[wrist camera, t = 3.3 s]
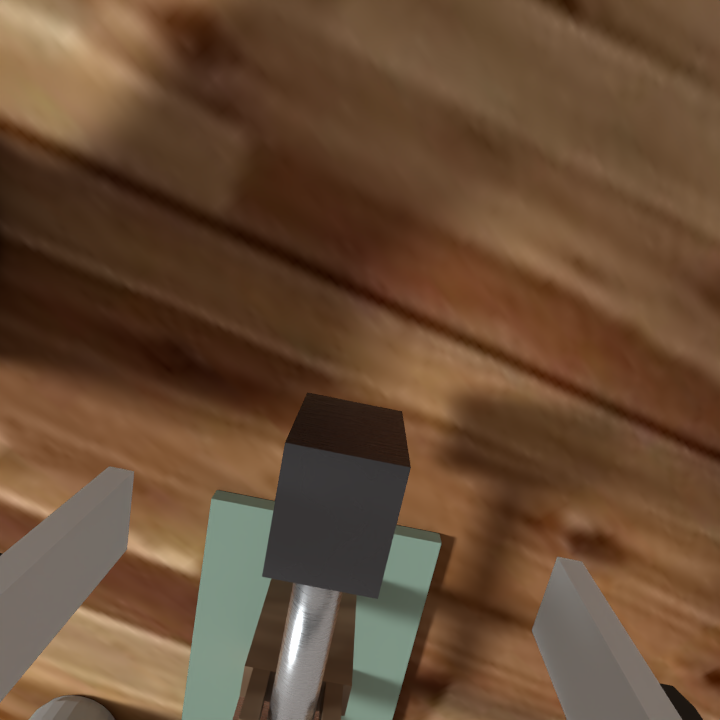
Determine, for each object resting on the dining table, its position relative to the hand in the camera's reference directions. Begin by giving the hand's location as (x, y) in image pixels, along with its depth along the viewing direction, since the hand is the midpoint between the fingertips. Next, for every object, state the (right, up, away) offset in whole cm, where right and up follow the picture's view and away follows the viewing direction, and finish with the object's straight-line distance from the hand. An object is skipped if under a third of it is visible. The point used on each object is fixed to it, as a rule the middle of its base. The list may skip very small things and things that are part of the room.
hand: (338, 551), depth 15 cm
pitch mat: (-3, -13, +17) cm, 22 cm away
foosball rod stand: (-1, -5, +14) cm, 15 cm away
